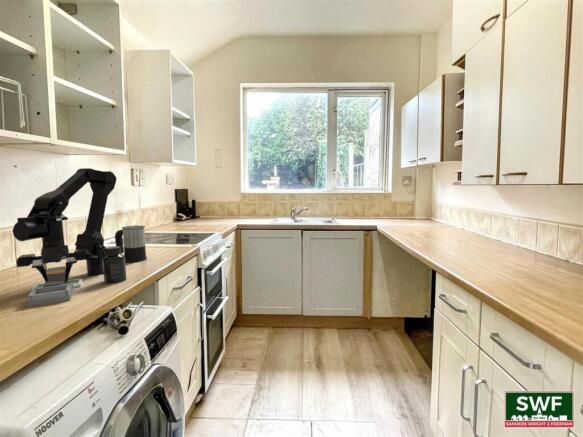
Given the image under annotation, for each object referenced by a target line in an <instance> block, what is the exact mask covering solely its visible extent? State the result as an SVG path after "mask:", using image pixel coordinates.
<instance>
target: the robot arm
mask: <svg viewBox="0 0 583 437" xmlns="http://www.w3.org/2000/svg"><path fill="white" fill-rule="evenodd" d="M116 183H117V176H116V175H115V174H114V172H113V171H111V170H108V171H106V170H105V171H102V170H97V169H94V168H90V167H87V168H86V167H85V168H84V167H82V168H79V169H76V171H75V173H74V174H73V175H71V176H70V177H68V179H66V180H65V181H64V182H63V183H62V184H61V185H59V186H58V187H57V188H56V189H54V190H52V191H48V192H46V193H43V194H41V195H40V196H38V197H37V198H35V200H34V202H33V203H34V204H33V206H32V208H31V209H30V211H29V213H28V215H27V217H17V222H15V224H14V225H13V229H12V234H13V237H14V238H15V239H16V240H17V241H19V242H26V241H31V240H37V239H41V241H42V242H41V243H42V246H41V249H40V255H36V254H35V253H31V254H21V255H20V256H18V257H17V259H16V261H15V263H16V268H23V267H24V268H25V267H30V266H31V268H32V269H36V270H37V271H39V273H40V275H41V276H42V278H43V279H44V283H45V282H48V281H47V273H46V271H47V270H48V266H47V264H50V263H51V264H52V263H60V262H62V260H66V262H65V267H66V273H65V281H66V283H67V282H68V280H69V278H70V273H71V270H72V267H73V265H74V264H77V263H78V261H85V262H86V271H87V272H86V275H85V277H87V278H88V277H94V276H102V275H103V276H104V274H103V264H102V259H103V257H104V256H106V254H105V248H107V247H106V246H105V239H104V236H103V235H102V227H103V224H104V223H103V222H104V218H105V213H106V206H107V202H108V196H109V195H110V194H111V193H112V192H113V190H114V189H115V186H116ZM87 184H89V187H90V188H91V192H92V196H91V200H90V201H91V202H90V205H89V210H88V216H87V220H86V225H85V230H84V231H83V232H82V233H78V234H77V236H76V241H75V243H74V246H75V249H74V252H70V250H69V245H68V244H65V236H64V227H63V226H64V224H63V221H68V220H69V218H68V216H66V215H64V214H63V212H65V210H66V209H67V207H68V206H69V202H70V199H71V198H72V197H73V196H74V195H76V194H77V193H78V192H79V191H81V189H82V188H83V187H84V186H85V185H87Z"/></svg>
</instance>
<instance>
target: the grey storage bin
mask: <svg viewBox="0 0 583 437" xmlns="http://www.w3.org/2000/svg"><path fill="white" fill-rule="evenodd" d="M44 283H45V284H44V285H43V287H42V288H35V289H33V290H32V289H31V290H32V291H31V290H30V291H31V293H30V292H29V294H28V296H27V298H28V299H27V300H28V301H27V307H28V308H31V307H32V308H33V307H36V306H37V307H38V306H43V305H44V306H45V305H50V304H55V303H63V302H69V301H71V299H72V296H73V293H74V290H75V288H74V284H73V285H71V284H64V282H63V280H56V281H48V282H45V281H44Z"/></svg>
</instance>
